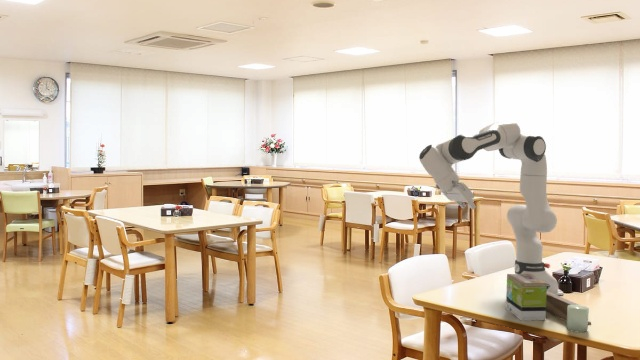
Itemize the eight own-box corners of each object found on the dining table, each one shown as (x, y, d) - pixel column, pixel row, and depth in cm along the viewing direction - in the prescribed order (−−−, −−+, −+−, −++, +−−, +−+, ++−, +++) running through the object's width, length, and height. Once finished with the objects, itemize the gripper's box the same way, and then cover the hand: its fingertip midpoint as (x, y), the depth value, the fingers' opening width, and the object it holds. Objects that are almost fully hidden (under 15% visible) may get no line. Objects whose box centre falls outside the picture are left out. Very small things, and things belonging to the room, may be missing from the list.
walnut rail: (551, 306, 240) (552, 289, 240) (591, 324, 217) (592, 305, 216) (536, 306, 239) (537, 290, 238) (574, 325, 215) (575, 306, 215)
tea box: (504, 309, 234) (506, 273, 233) (528, 309, 235) (530, 273, 234) (520, 320, 219) (522, 282, 219) (546, 320, 220) (548, 282, 219)
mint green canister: (579, 325, 215) (580, 304, 215) (591, 331, 208) (593, 309, 208) (562, 326, 214) (563, 305, 213) (574, 332, 207) (575, 310, 206)
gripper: (464, 176, 225) (486, 203, 226) (445, 176, 245) (465, 202, 246) (452, 186, 224) (474, 214, 225) (434, 186, 244) (453, 211, 245)
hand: (469, 207), depth 236 cm, fingers open, 8 cm apart
